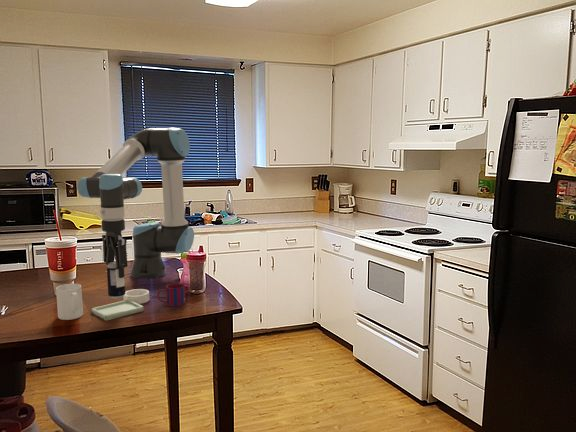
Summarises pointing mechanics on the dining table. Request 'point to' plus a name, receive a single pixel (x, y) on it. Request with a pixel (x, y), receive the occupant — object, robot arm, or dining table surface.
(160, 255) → the robot arm
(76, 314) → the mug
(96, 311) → the tray
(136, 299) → the white round dish
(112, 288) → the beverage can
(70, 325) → the dining table surface
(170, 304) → the cup
